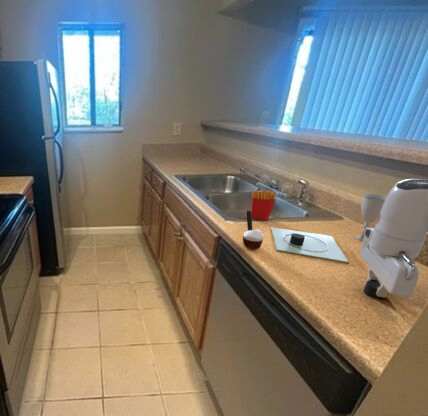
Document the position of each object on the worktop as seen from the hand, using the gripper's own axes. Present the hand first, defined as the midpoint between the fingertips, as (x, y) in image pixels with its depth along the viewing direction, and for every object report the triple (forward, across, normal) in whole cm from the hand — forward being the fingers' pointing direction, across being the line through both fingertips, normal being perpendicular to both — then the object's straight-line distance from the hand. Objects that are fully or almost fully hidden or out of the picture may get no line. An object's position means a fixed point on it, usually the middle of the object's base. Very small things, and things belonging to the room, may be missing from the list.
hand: (375, 289), depth 73 cm
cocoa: (+2, +16, +29) cm, 33 cm away
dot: (+2, 0, 0) cm, 2 cm away
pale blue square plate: (+2, +26, +11) cm, 28 cm away
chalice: (+2, +34, -7) cm, 35 cm away
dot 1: (+1, +24, +14) cm, 28 cm away
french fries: (+2, +46, +25) cm, 52 cm away
